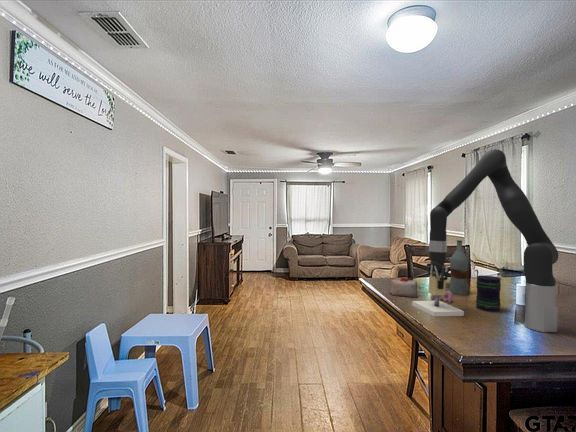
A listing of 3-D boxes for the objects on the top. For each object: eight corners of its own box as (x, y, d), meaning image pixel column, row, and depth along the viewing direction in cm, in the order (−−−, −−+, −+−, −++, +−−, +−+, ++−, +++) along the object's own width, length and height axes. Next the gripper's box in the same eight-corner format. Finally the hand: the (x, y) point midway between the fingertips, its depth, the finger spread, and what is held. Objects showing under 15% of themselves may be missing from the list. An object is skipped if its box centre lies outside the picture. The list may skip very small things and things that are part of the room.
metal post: (440, 306, 151) (440, 291, 151) (436, 306, 151) (436, 291, 151) (437, 305, 153) (437, 290, 153) (433, 305, 153) (433, 290, 153)
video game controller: (452, 305, 167) (454, 292, 169) (450, 302, 164) (452, 289, 166) (432, 301, 174) (434, 289, 176) (429, 299, 171) (432, 286, 173)
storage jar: (504, 312, 150) (504, 279, 150) (480, 311, 152) (480, 278, 152) (495, 307, 159) (495, 276, 159) (472, 305, 161) (473, 274, 161)
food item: (390, 296, 179) (390, 277, 179) (391, 292, 186) (391, 275, 186) (417, 298, 174) (417, 279, 174) (417, 295, 182) (417, 277, 182)
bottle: (450, 294, 184) (451, 240, 184) (447, 291, 193) (448, 239, 193) (469, 296, 181) (470, 241, 181) (465, 292, 190) (466, 240, 190)
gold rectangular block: (445, 295, 150) (445, 277, 150) (435, 295, 149) (435, 277, 149) (438, 292, 155) (439, 275, 155) (428, 292, 154) (429, 275, 154)
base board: (463, 315, 144) (463, 311, 144) (433, 316, 142) (433, 311, 142) (439, 304, 162) (439, 300, 162) (412, 305, 160) (412, 301, 160)
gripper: (455, 252, 145) (454, 291, 145) (436, 249, 159) (435, 284, 159) (439, 252, 144) (438, 291, 144) (421, 249, 158) (420, 284, 158)
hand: (437, 287), depth 152 cm, fingers closed on gold rectangular block, 5 cm apart
